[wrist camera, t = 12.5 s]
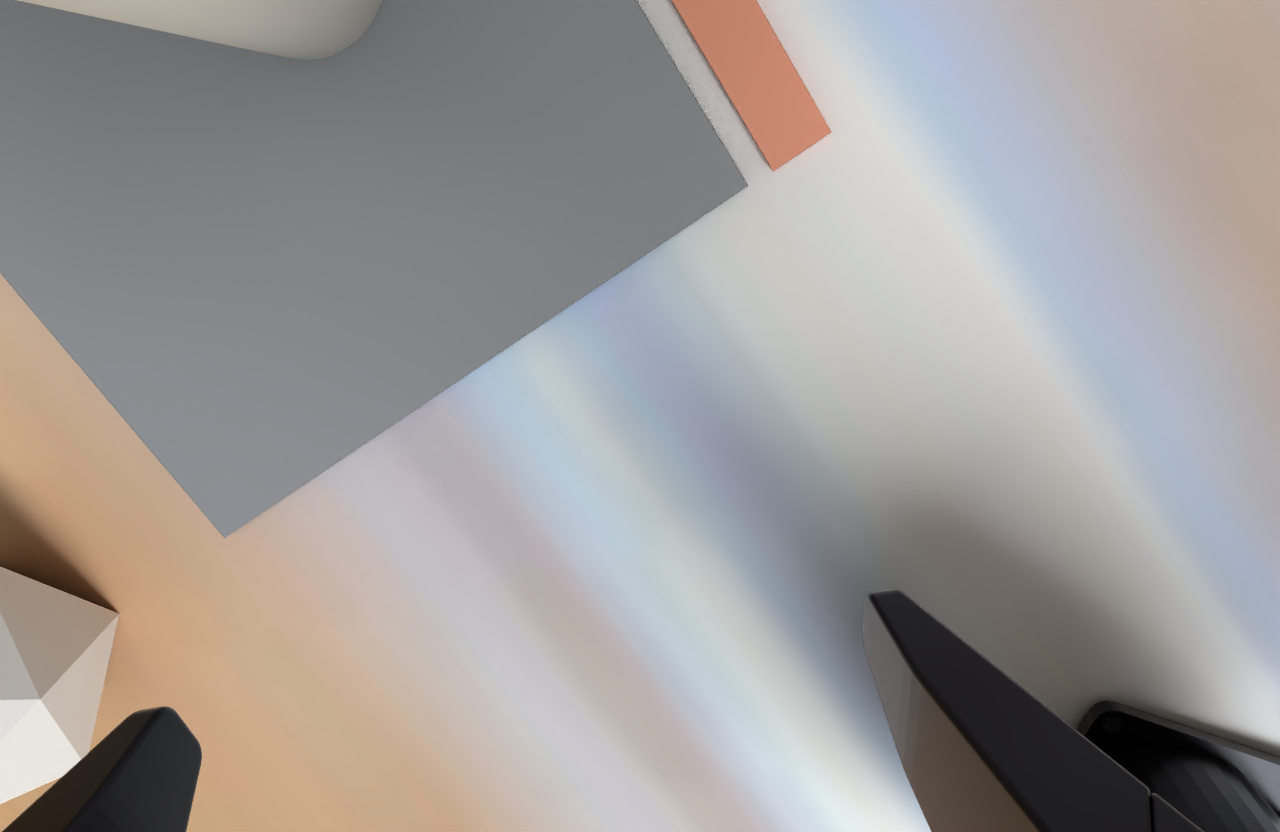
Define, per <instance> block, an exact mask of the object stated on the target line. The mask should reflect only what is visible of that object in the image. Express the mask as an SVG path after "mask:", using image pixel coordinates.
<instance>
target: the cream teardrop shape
mask: <svg viewBox="0 0 1280 832" xmlns="http://www.w3.org/2000/svg"><path fill="white" fill-rule="evenodd" d="M18 1H23V2H27V3H32V4H37V5H41V6H46V7H51V8H55V9H60V10H65V11H69V12H74V13H79V14H84V15H88V16H93V17H98V18H102V19H107V20H112V21H116V22H121V23H126V24H131V25H135V26H140V27H145V28H149V29H154V30H159V31H163V32H168V33H173V34H177V35H182V36H187V37H192V38H196V39H201V40H206V41H210V42H215V43H220V44H224V45H229V46H234V47H239V48H243V49H248V50H253V51H257V52H262V53H267V54H271V55H276V56H281V57H285V58H291V59H296V60H316V59H323V58H326V57H329V56H333V55H335V54H337V53H339V52H341V51H343V50H345V49H346V48H348V47H349V46H350V45H352V44H353V43H354V42H355V41H357V40H358V39H359V38H360V37H361V36H362V35H363V34H364V32H365V31H366V30H367V28H368V27H369V26H370V25H371V23H372V21H373V19H374V18H375V16H376V14H377V12H378V10H379V8H380V5H381V3H382V0H18Z"/></svg>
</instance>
